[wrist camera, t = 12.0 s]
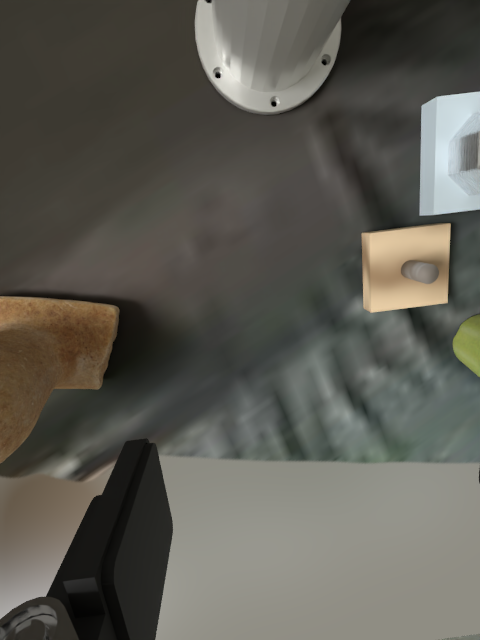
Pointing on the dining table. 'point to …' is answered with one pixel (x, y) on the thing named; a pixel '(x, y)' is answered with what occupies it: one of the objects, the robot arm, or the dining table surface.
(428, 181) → the peg base
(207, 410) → the dining table surface
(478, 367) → the plant pot
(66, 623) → the robot arm
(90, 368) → the brown hat
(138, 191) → the dining table surface
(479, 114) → the ring
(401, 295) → the stand
